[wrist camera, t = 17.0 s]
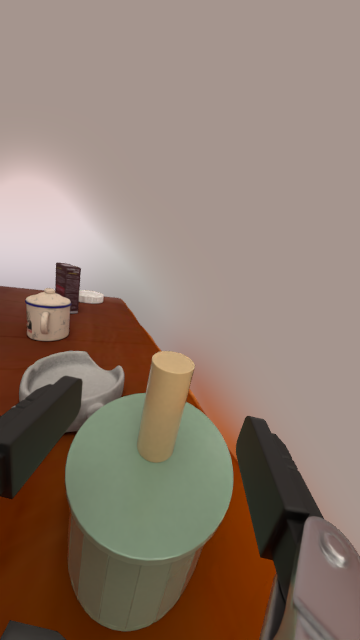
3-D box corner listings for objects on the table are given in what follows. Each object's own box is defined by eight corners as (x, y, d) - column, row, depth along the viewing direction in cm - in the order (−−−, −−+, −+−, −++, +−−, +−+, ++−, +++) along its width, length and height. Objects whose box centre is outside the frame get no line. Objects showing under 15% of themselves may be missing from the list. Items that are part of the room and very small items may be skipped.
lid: (39, 442, 15) (40, 339, 12) (159, 387, 24) (172, 323, 22) (133, 682, 7) (179, 532, 5) (254, 465, 16) (290, 379, 14)
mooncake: (108, 301, 92) (108, 294, 91) (93, 305, 80) (94, 297, 79) (85, 295, 93) (85, 288, 92) (67, 299, 81) (68, 290, 80)
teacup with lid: (31, 327, 50) (30, 282, 47) (71, 328, 54) (73, 288, 51) (16, 348, 39) (14, 293, 36) (67, 347, 44) (69, 298, 40)
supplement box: (78, 313, 67) (81, 267, 63) (63, 314, 63) (65, 265, 59) (68, 306, 72) (70, 263, 68) (54, 307, 68) (55, 261, 64)
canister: (47, 511, 17) (49, 436, 14) (148, 440, 25) (159, 386, 23) (114, 716, 10) (136, 633, 8) (221, 523, 18) (247, 458, 16)
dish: (59, 368, 36) (60, 344, 35) (131, 381, 36) (135, 358, 35) (-20, 431, 22) (-24, 395, 21) (98, 452, 22) (102, 418, 21)
